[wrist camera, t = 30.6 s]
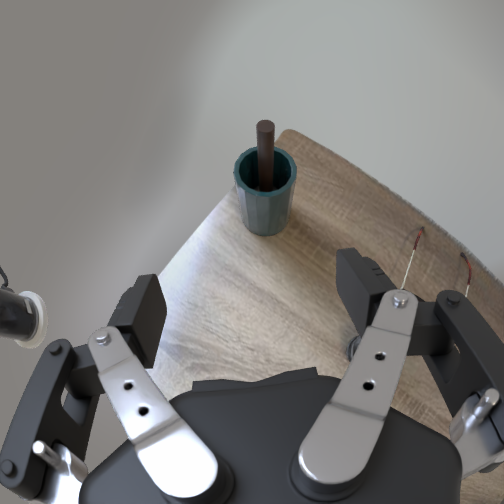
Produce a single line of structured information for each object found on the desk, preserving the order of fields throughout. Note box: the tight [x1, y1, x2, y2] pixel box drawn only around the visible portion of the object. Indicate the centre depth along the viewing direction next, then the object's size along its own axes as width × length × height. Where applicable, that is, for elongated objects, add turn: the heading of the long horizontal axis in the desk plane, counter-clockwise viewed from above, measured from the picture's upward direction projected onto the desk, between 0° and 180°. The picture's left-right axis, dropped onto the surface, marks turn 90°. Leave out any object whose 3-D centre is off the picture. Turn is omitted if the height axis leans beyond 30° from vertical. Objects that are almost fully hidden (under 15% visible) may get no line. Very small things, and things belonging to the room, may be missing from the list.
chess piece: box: [347, 336, 361, 362], centre depth 38 cm, size 6×6×12 cm
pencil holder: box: [233, 146, 297, 236], centre depth 45 cm, size 8×8×14 cm
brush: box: [254, 120, 278, 192], centre depth 40 cm, size 4×4×22 cm
